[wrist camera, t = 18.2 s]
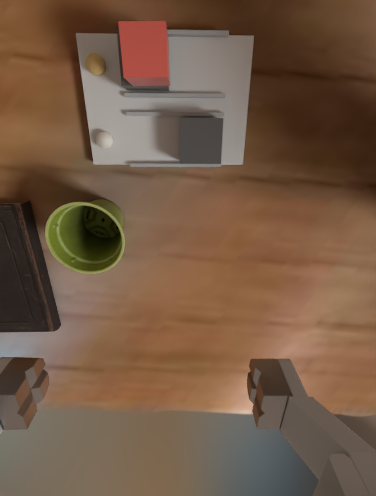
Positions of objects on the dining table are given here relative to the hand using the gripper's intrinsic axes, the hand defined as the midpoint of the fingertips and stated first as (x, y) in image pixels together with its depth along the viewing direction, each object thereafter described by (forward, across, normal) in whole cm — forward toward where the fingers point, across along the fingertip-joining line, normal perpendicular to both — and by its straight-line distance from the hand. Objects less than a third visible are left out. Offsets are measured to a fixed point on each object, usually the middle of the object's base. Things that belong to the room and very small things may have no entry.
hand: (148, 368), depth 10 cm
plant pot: (+31, +11, +4) cm, 33 cm away
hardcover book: (+31, +29, +13) cm, 44 cm away
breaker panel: (+31, +1, -11) cm, 33 cm away
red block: (+25, +2, -15) cm, 29 cm away
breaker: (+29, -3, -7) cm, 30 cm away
